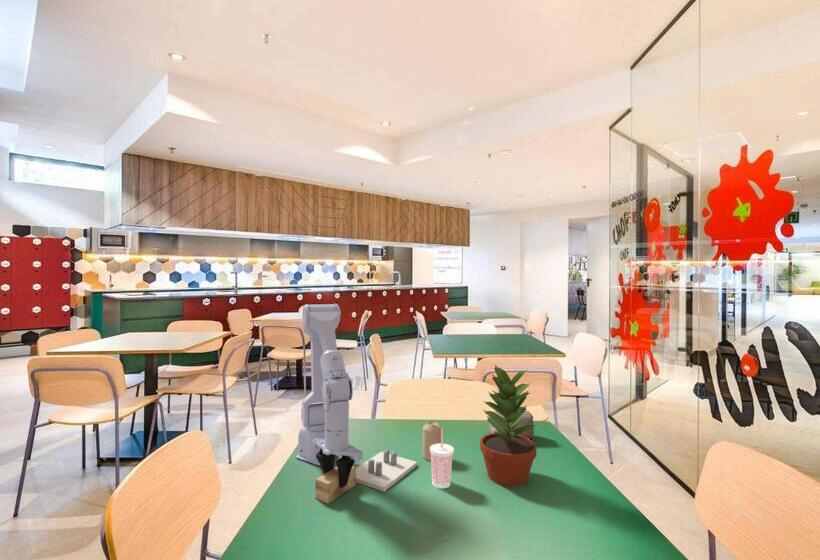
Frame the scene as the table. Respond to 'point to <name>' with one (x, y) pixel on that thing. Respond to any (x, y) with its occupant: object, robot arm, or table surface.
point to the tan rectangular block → (332, 485)
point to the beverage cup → (441, 463)
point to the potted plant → (508, 434)
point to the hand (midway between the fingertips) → (336, 483)
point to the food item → (519, 424)
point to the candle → (430, 437)
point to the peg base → (383, 470)
